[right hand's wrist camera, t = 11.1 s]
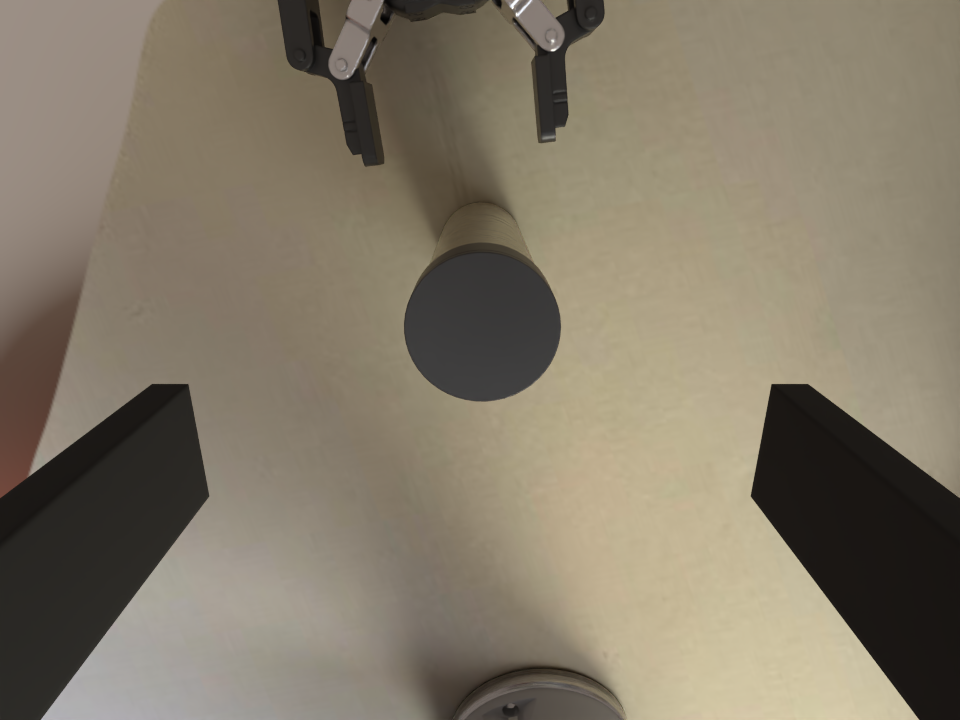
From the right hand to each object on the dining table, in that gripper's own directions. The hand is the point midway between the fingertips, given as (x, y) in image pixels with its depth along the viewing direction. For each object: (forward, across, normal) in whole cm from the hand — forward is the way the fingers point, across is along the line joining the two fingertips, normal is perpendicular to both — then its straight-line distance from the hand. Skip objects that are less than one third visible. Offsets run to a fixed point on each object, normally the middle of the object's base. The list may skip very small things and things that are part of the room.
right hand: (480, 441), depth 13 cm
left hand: (+20, -1, +5) cm, 20 cm away
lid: (+8, 0, 0) cm, 8 cm away
